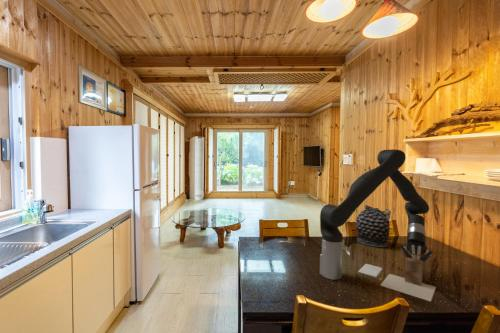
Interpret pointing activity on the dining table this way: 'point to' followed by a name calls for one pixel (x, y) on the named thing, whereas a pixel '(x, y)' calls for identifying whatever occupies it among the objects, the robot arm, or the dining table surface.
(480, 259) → the dining table surface
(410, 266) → the card box
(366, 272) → the external hard drive
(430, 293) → the mat
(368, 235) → the dark studded dome
